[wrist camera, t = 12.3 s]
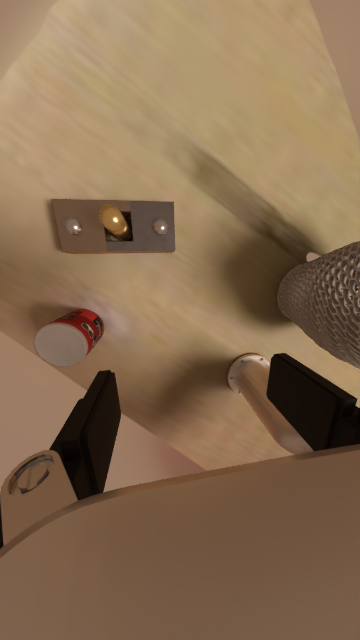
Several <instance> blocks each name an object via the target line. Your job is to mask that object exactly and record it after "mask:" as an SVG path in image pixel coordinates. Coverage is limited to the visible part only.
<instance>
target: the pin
mask: <svg viewBox="0 0 360 640" xmlns="http://www.w3.org/2000/svg"><path fill="white" fill-rule="evenodd" d="M98 217H99V220H100V222H101V224H102V225H103V226H104V227H105V228H107V229H108V230H109V231H110V232H111V233H112V234H114V235H115V236H116V237H117V238H118V239H120V240H122V241H125V240H128V239H129V238H130V236H131V229H130V227H129V226H128V224H127V222H126V221H125V219H124V217H123V216H122V214H121V212H120V211H119V209H118V208H117V207H116V206H114V205H112V204H105V205H103V206H102V207H101V208H100V210H99V213H98Z"/></svg>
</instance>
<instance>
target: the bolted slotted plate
mask: <svg viewBox="0 0 360 640" xmlns="http://www.w3.org/2000/svg"><path fill="white" fill-rule="evenodd" d="M51 200H52V205H53V210H54V215H55V219H56V224H57V229H58V234H59V239H60V243H61V248H62V252H66V253H71V254H103V253H171V252H174V251H175V229H174V202H159V201H115V200H71V199H51ZM105 204H112V205H114V206H116V207H117V208H118V209H119V211H120V212H121V214H122V216H123V217H124V218H131V221H132V231H133V241H125V242H111V237H110V231H109V230H108V229H107V228H105V227H104V226H103V225H102V224H101V222H100V220H99V217H98V213H99V210H100V208H101V207H102V206H103V205H105Z"/></svg>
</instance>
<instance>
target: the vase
mask: <svg viewBox="0 0 360 640" xmlns="http://www.w3.org/2000/svg"><path fill="white" fill-rule="evenodd" d="M352 275H353V276H352ZM348 279H349V280H348ZM341 286H342V287H343V292H341V290H342V289H341ZM357 286H358V287H359V289H358V288H356V287H357ZM357 290H359V291H358V293H356V291H357ZM349 291H350V292H351V294H352V295H351V296H349ZM342 293H343V294H342ZM357 294H358V295H357ZM350 297H351V299H350ZM337 298H338V299H337ZM359 299H360V241H359V242H353V243H351V244H349V245H346V246H344V247H342V248H339V249H337V250H334V251H332V252H330V253H327V254H326V255H324V256H322V257H319V258H317V259H315V260H313V261H310V262H307V263H303V264H300V265H298V266H296V267H294V268H293V269H292V270H290V271H289V272H288V273H287V274H286V276H285V277H284V278H283V280H282V282H281V284H280V286H279V289H278V294H277V302H278V306H279V309H280V311H281V312H282V314H283V315H284V316H286V317H287V318H289V319H290V320H292V321H293V322H294V323H295V324H296V325H297V326H298V327H300V328H301V329H302V330H303V331H304V332H305V334H306V335H308V336H309V337H310V338H311V339H312V340H313V341H314V342H315V343H316V344H317V345H318V346H320V347H321V348H323V349H324V350H326V351H328V352H329V353H330V354H331V355H333V356H335V357H336V358H337V359H340V360H342V361H345V362H347V363H349V364H351V365H353V366H355V367H356V368H360V306H359V305H360V300H359ZM352 300H353V301H352ZM338 301H339V302H338ZM345 301H346V303H347V304H346V303H345ZM346 305H348V306H346ZM356 312H357V313H356Z"/></svg>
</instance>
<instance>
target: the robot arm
mask: <svg viewBox="0 0 360 640" xmlns="http://www.w3.org/2000/svg"><path fill="white" fill-rule="evenodd" d="M227 380H228V384H229V385H230V387H231V389H232V390H233V391H235V392H236V393H238V394H242V395H243V396H244V397H245V399H246V400H247V402H248V403H249V404H250V406H251V407H252V409H253V410H254V411H255V413H256V414H257V416H258V417H259V419H260V420H261V421H262V423H263V424H264V426H265V427H266V429H267V430H268V431H269V433H270V434H271V436H272V437H273V439H274V440H275V441H276V442H277V443H278V444H279V445H280V446H281V447H282V448H284V449H285V450H287V451H289V452H290V453H293V454H295V455H292V456H286V457H281V458H275V459H270V460H264V461H258V462H253V463H247V464H242V465H237V466H231V467H226V468H220V469H215V470H210V471H204V472H200V473H194V474H188V475H183V476H178V477H173V478H167V479H162V480H157V481H152V482H148V483H143V484H139V485H133V486H128V487H124V488H119V489H115V490H111V491H108V492H104V493H103V490H104V487H105V482H106V478H107V474H108V470H109V465H110V461H111V457H112V452H113V448H114V444H115V440H116V436H117V431H118V427H119V423H120V418H121V410H120V404H119V398H118V391H117V385H116V378H115V373H114V372H112V373H111V371H110V370H105V371H99V372H98V373H97V375H96V377H95V379H94V380H93V382H92V384H91V386H90V387H89V389H88V391H87V393H86V395H85V396H84V398H83V399H80V400H79V401H78V402H77V404H76V405H75V407H74V409H73V410H72V412H71V414H70V416H69V417H68V419H67V421H66V422H65V424H64V426H63V427H62V429H61V431H60V432H59V434H58V436H57V437H56V439H55V441H54V443H53V444H52V446H51V448H50V449H49V450H45V451H41V452H39V453H36V454H34V455H32V456H30V457H28V458H27V459H25V460H24V461H23V462H21V463H20V464H19V465H18V466H17V467H16V468H15V469H14V470H12V472H11V473H10V474H9V475H8V477H7V478H6V479H5V481H4V483H3V485H2V487H1V492H0V640H360V408H358V407H357V406H355V405H356V402H357V398H355V397H354V396H352V395H350V394H349V393H347V392H346V391H344V390H342V389H341V388H339V387H338V386H336V385H335V384H333V383H331V382H330V381H328V380H327V379H325V378H324V377H322V376H320V375H319V374H317V373H316V372H314V371H313V370H311V369H309V368H308V367H306V366H305V365H303V364H302V363H300V362H298V361H297V360H295V359H294V358H292V357H291V356H289V355H287V354H286V353H280V354H274V356H273V357H272V358H271V363H269V361H268V360H267V359H266V358H265V357H263V356H261V355H259V354H246V355H244V356H241V357H240V358H238V359H237V360H236V361H235V362H233V364H232V365H231V367H230V368H229V371H228V375H227Z"/></svg>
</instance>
